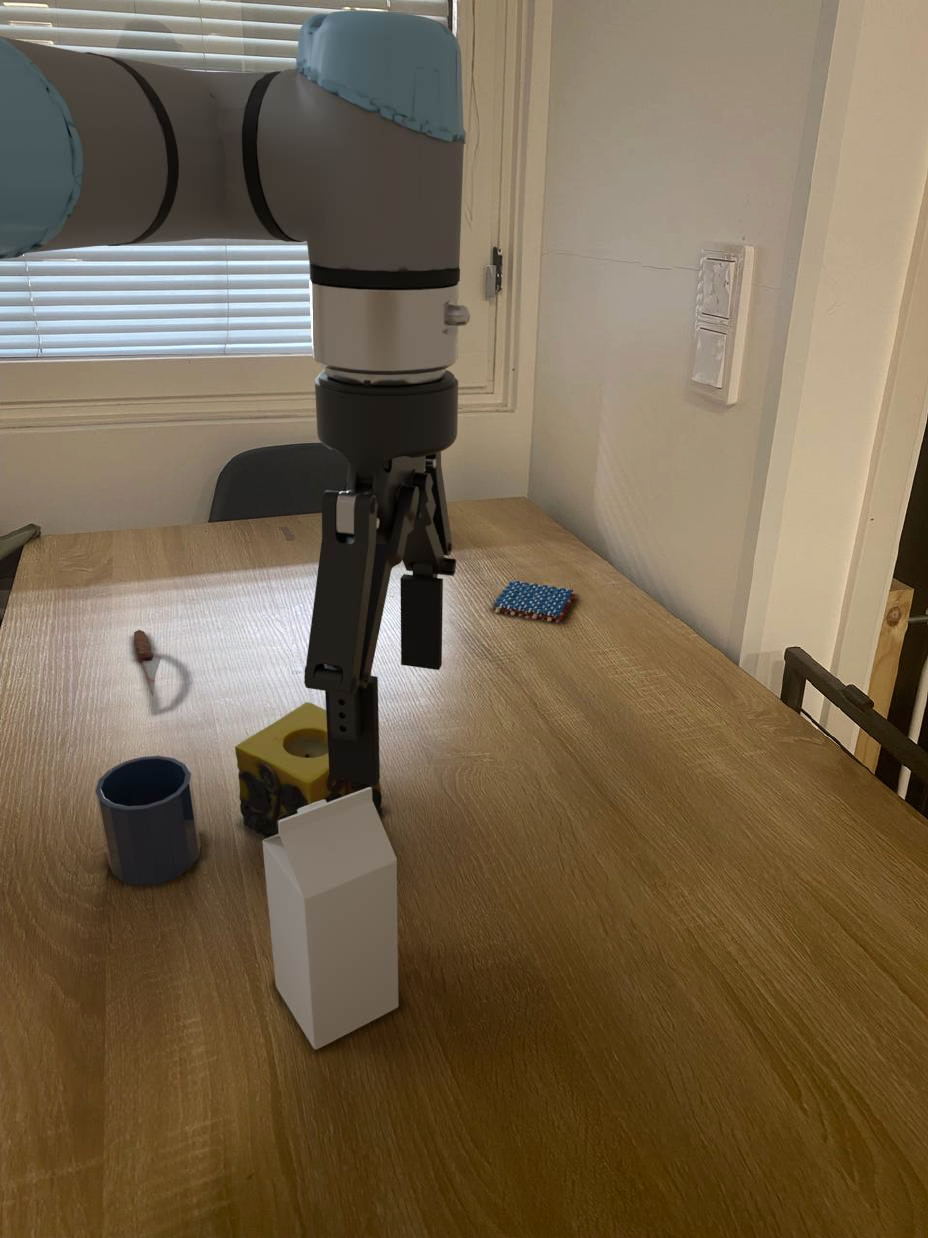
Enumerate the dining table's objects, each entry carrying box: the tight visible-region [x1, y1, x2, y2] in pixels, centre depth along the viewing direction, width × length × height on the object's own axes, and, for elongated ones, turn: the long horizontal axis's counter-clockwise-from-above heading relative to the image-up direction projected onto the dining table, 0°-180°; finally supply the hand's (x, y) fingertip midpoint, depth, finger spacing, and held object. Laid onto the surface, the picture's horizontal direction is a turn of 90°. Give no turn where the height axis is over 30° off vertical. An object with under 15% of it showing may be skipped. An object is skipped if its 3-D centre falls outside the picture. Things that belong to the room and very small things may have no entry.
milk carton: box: [261, 787, 399, 1051], centre depth 67 cm, size 7×7×19 cm
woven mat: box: [492, 580, 576, 623], centre depth 137 cm, size 10×11×2 cm
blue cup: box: [94, 755, 201, 887], centre depth 83 cm, size 8×8×9 cm
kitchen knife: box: [133, 629, 162, 697], centre depth 116 cm, size 21×2×5 cm
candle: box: [234, 701, 383, 839], centre depth 88 cm, size 10×10×10 cm
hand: (391, 716), depth 57 cm, fingers open, 13 cm apart
